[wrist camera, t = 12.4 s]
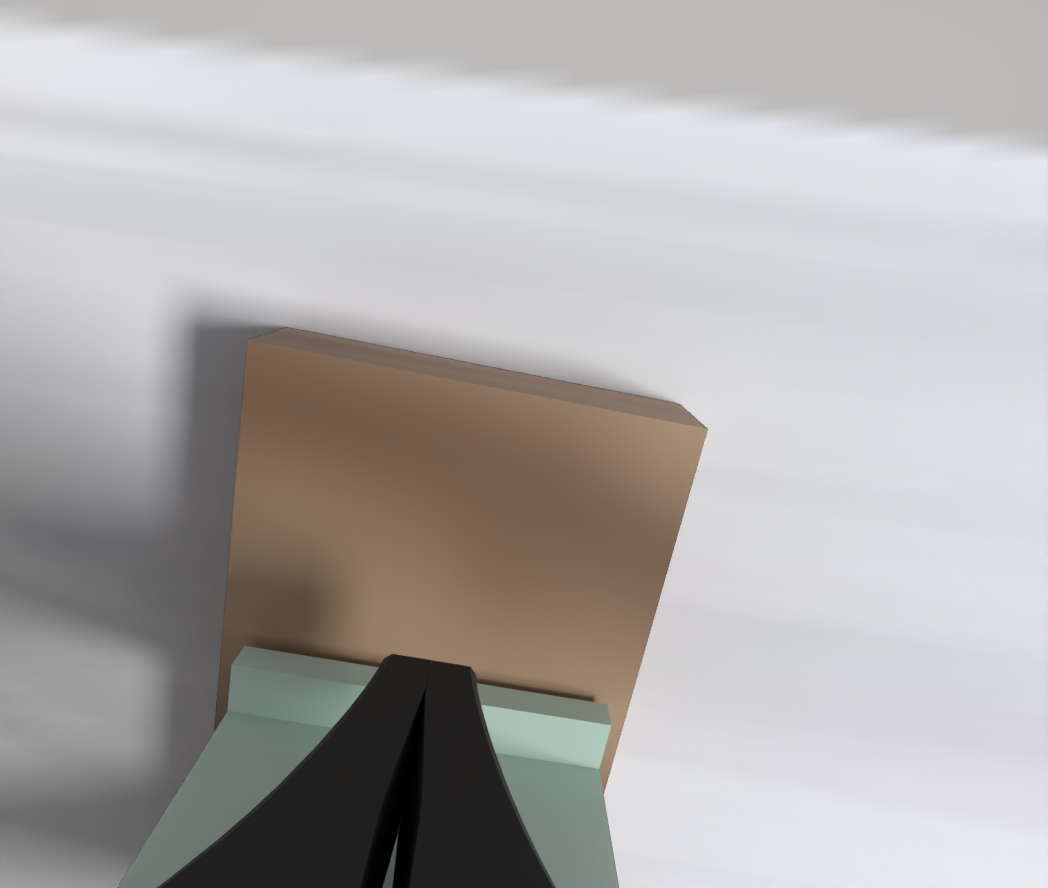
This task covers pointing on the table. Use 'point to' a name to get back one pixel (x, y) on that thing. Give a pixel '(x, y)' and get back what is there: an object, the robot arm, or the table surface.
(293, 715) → the sliding bookend
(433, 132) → the table surface
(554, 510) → the shelf board
